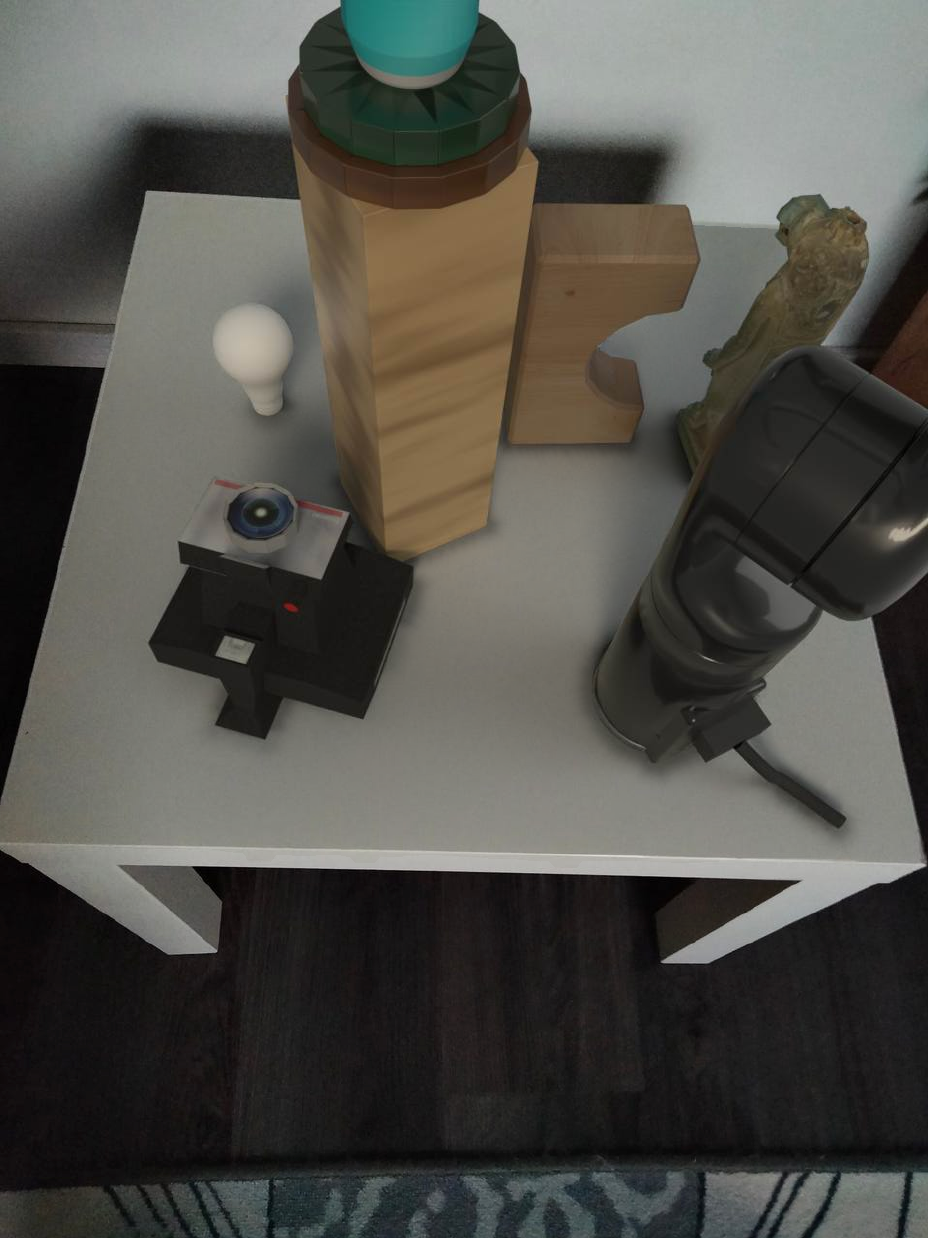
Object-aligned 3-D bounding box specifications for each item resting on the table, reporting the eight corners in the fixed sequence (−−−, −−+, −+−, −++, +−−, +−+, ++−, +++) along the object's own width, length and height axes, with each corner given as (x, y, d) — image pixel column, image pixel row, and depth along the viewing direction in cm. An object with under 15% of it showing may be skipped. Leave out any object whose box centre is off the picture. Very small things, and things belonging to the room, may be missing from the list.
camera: (417, 476, 55) (341, 674, 47) (412, 592, 67) (351, 764, 60) (188, 416, 56) (78, 601, 48) (225, 542, 68) (142, 704, 61)
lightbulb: (284, 372, 74) (264, 274, 65) (317, 420, 72) (301, 326, 62) (221, 399, 73) (190, 303, 63) (253, 449, 71) (226, 358, 61)
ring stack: (503, 531, 69) (580, 101, 36) (380, 583, 66) (345, 171, 34) (442, 432, 73) (463, -37, 40) (324, 477, 70) (244, 16, 37)
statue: (727, 403, 76) (860, 144, 53) (766, 478, 72) (926, 237, 50) (657, 417, 74) (762, 160, 52) (693, 495, 71) (823, 256, 49)
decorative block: (625, 394, 75) (691, 200, 57) (632, 447, 73) (703, 261, 55) (502, 393, 75) (530, 197, 57) (505, 446, 72) (535, 258, 54)
